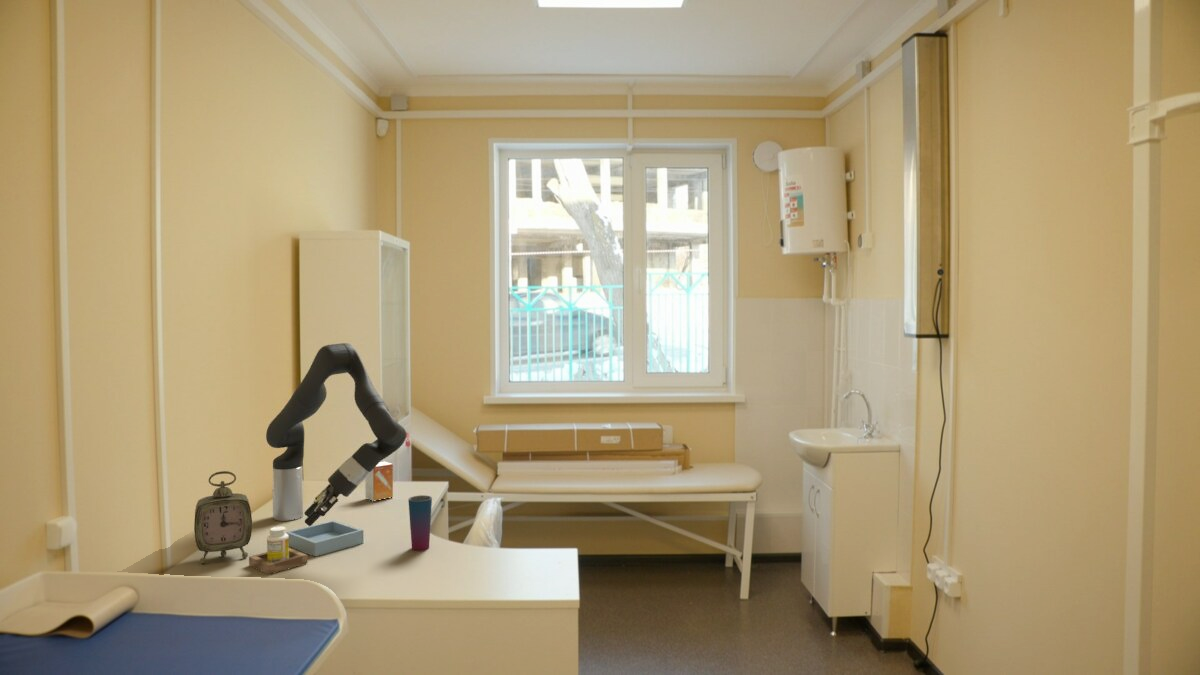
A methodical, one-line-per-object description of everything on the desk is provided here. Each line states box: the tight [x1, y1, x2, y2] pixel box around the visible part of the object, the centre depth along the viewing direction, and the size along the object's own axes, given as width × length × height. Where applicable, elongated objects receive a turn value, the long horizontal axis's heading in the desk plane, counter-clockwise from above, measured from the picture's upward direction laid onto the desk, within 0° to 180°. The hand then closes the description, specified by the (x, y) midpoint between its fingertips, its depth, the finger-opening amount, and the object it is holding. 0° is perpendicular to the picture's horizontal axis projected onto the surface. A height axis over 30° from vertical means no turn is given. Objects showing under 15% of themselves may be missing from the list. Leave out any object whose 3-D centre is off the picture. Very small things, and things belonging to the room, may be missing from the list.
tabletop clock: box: [193, 470, 253, 565], centre depth 217 cm, size 14×9×25 cm, turn 118°
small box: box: [364, 461, 394, 502], centre depth 283 cm, size 8×6×13 cm
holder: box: [248, 547, 308, 575], centre depth 213 cm, size 11×11×2 cm
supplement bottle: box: [266, 526, 290, 563], centre depth 213 cm, size 6×6×10 cm
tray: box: [286, 519, 364, 557], centre depth 231 cm, size 16×16×4 cm
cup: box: [407, 494, 433, 552], centre depth 227 cm, size 7×7×15 cm
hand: (306, 519), depth 215 cm, fingers open, 8 cm apart
